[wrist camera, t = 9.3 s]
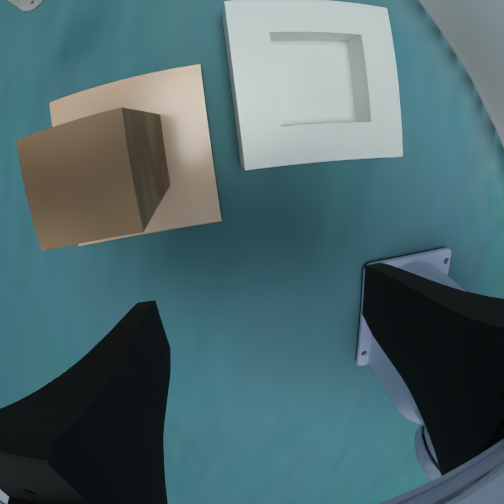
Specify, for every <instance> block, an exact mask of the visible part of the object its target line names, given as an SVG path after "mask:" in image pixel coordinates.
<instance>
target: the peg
mask: <svg viewBox="0 0 504 504" xmlns="http://www.w3.org/2000/svg"><path fill="white" fill-rule="evenodd" d="M16 142H17V149H18V155H19V161H20V166H21V172H22V177H23V182H24V186H25V191H26V195H27V199H28V204H29V208H30V212H31V216H32V219H33V223H34V227H35V230H36V234H37V237H38V241H39V244H40V247H41V250H42V251H43V250H48V249H53V248H59V247H64V246H69V245H74V244H80V243H85V242H91V241H96V240H102V239H107V238H113V237H119V236H124V235H130V234H136V233H142V232H144V230H145V229H146V227H147V225H148V223H149V221H150V220H151V218H152V216H153V214H154V213H155V211H156V209H157V207H158V206H159V204H160V202H161V200H162V199H163V197H164V195H165V194H166V192H167V190H168V188H169V187H170V179H169V173H168V167H167V160H166V154H165V147H164V140H163V133H162V125H161V118H160V114H155V113H150V112H145V111H140V110H134V109H128V108H123V107H121V108H117V109H113V110H109V111H105V112H101V113H98V114H94V115H90V116H87V117H83V118H80V119H77V120H73V121H70V122H67V123H64V124H60V125H57V126H54V127H51V128H48V129H45V130H43V131H40V132H37V133H34V134H31V135H29V136H26V137H23V138H21V139H18V140H16Z"/></svg>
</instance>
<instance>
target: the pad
mask: <svg viewBox="0 0 504 504" xmlns="http://www.w3.org/2000/svg"><path fill="white" fill-rule="evenodd" d="M49 104H50V112H51V120H52V127H54V126H57V125H60V124H64V123H67V122H70V121H73V120H77V119H80V118H83V117H87V116H90V115H94V114H98V113H101V112H105V111H109V110H113V109H117V108H121V107H123V108H128V109H134V110H140V111H145V112H150V113H155V114H160V118H161V125H162V133H163V140H164V147H165V154H166V160H167V167H168V173H169V179H170V187H169V188H168V190H167V192H166V194H165V195H164V197H163V199H162V200H161V202H160V204H159V206H158V207H157V209H156V211H155V213H154V214H153V216H152V218H151V220H150V221H149V223H148V225H147V227H146V229H145V230H144V232H142V233H136V234H130V235H124V236H119V237H113V238H107V239H102V240H96V241H91V242H85V243H80V244H78V245H79V246H82V245H87V244H93V243H98V242H103V241H109V240H114V239H119V238H125V237H130V236H136V235H142V234H147V233H153V232H159V231H165V230H170V229H176V228H182V227H188V226H195V225H201V224H207V223H213V222H220V221H222V219H221V212H220V206H219V199H218V192H217V185H216V178H215V171H214V164H213V157H212V150H211V143H210V135H209V128H208V120H207V113H206V105H205V97H204V89H203V81H202V73H201V65H200V64H198V65H191V66H185V67H179V68H174V69H168V70H163V71H158V72H153V73H148V74H144V75H140V76H135V77H131V78H127V79H123V80H119V81H115V82H112V83H108V84H104V85H101V86H97V87H94V88H91V89H87V90H84V91H81V92H78V93H75V94H72V95H69V96H66V97H63V98H60V99H58V100H55V101H52V102H49Z"/></svg>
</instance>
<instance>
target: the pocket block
mask: <svg viewBox="0 0 504 504" xmlns="http://www.w3.org/2000/svg"><path fill="white" fill-rule="evenodd" d="M222 21H223V29H224V37H225V45H226V53H227V61H228V69H229V77H230V85H231V93H232V101H233V109H234V117H235V125H236V133H237V141H238V149H239V157H240V165H241V166H242V167H243V168H244V170H253V169H261V168H269V167H277V166H286V165H295V164H305V163H315V162H326V161H338V160H351V159H366V158H384V157H403V146H402V124H401V108H400V96H399V86H398V76H397V68H396V60H395V53H394V46H393V39H392V33H391V27H390V22H389V17H388V11H387V8H384V7H378V6H371V5H364V4H357V3H348V2H339V1H327V0H234V1H224V6H223V13H222Z"/></svg>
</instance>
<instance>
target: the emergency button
mask: <svg viewBox="0 0 504 504" xmlns="http://www.w3.org/2000/svg"><path fill="white" fill-rule="evenodd" d="M8 1H9V2H11V3H12V4H14V5H15V6H17V7H18V8H20V9H21V10H22V11H24V12H30V11H32V10H34V9H36V8H37V7H38V6H39V5H40V4H42V3H43V1H44V0H8Z"/></svg>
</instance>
